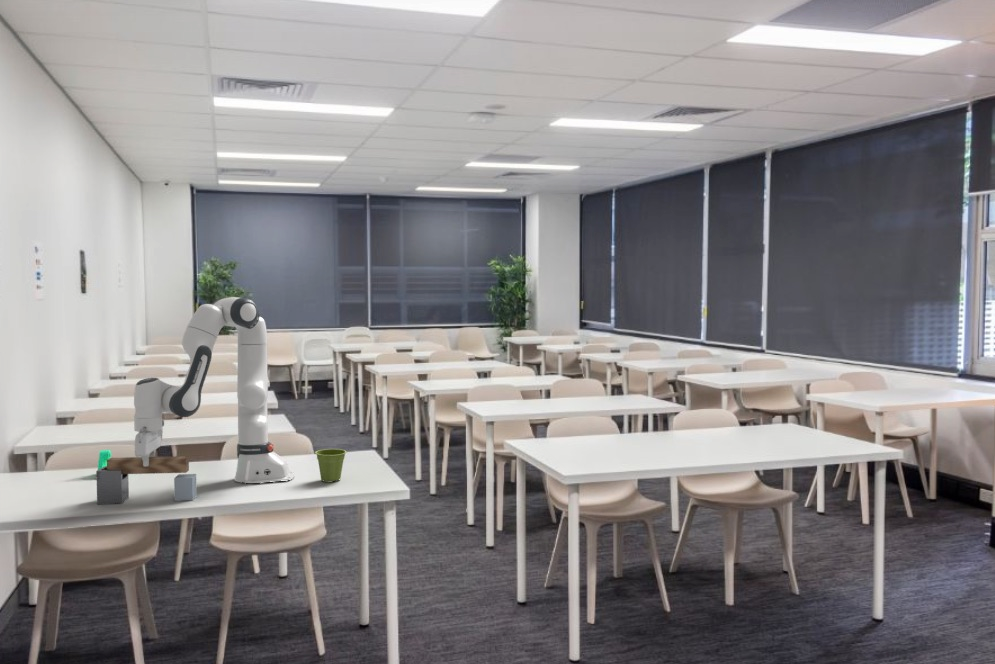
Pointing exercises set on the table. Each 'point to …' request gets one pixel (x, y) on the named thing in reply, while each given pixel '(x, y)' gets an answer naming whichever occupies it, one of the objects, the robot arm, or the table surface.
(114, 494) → the cup bracket
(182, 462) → the rail
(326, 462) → the plant pot
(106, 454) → the camera mount
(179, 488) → the block
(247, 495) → the table surface
